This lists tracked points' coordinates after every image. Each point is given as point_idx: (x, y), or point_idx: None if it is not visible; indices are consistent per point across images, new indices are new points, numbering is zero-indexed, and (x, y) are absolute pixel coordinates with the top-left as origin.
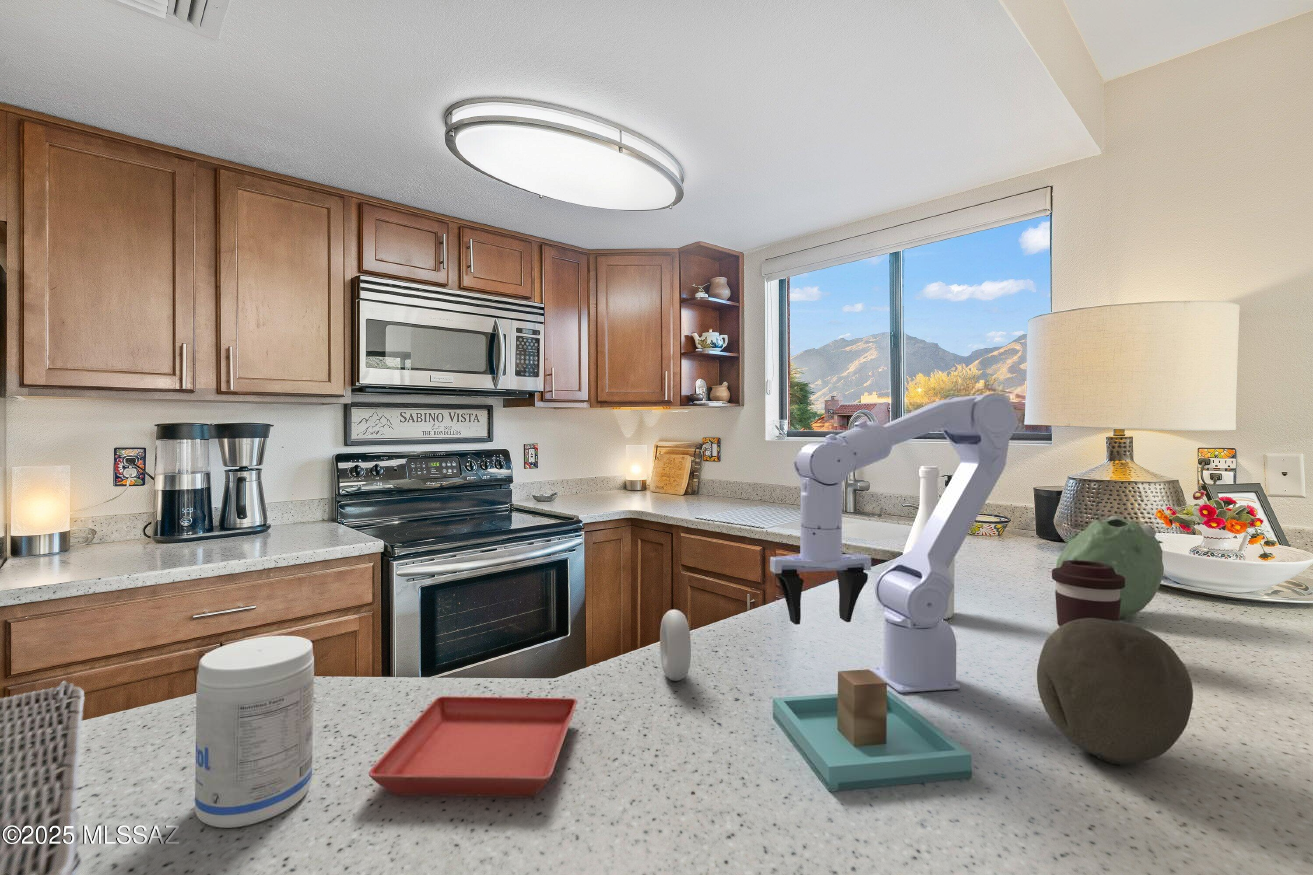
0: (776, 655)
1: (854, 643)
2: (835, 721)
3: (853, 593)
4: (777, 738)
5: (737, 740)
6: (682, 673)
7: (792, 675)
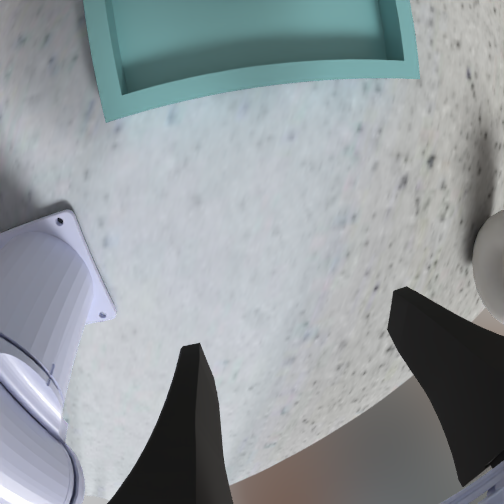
0: (296, 357)
1: (137, 412)
2: (285, 16)
3: (178, 451)
4: None
5: (453, 18)
6: (501, 211)
7: (297, 277)
